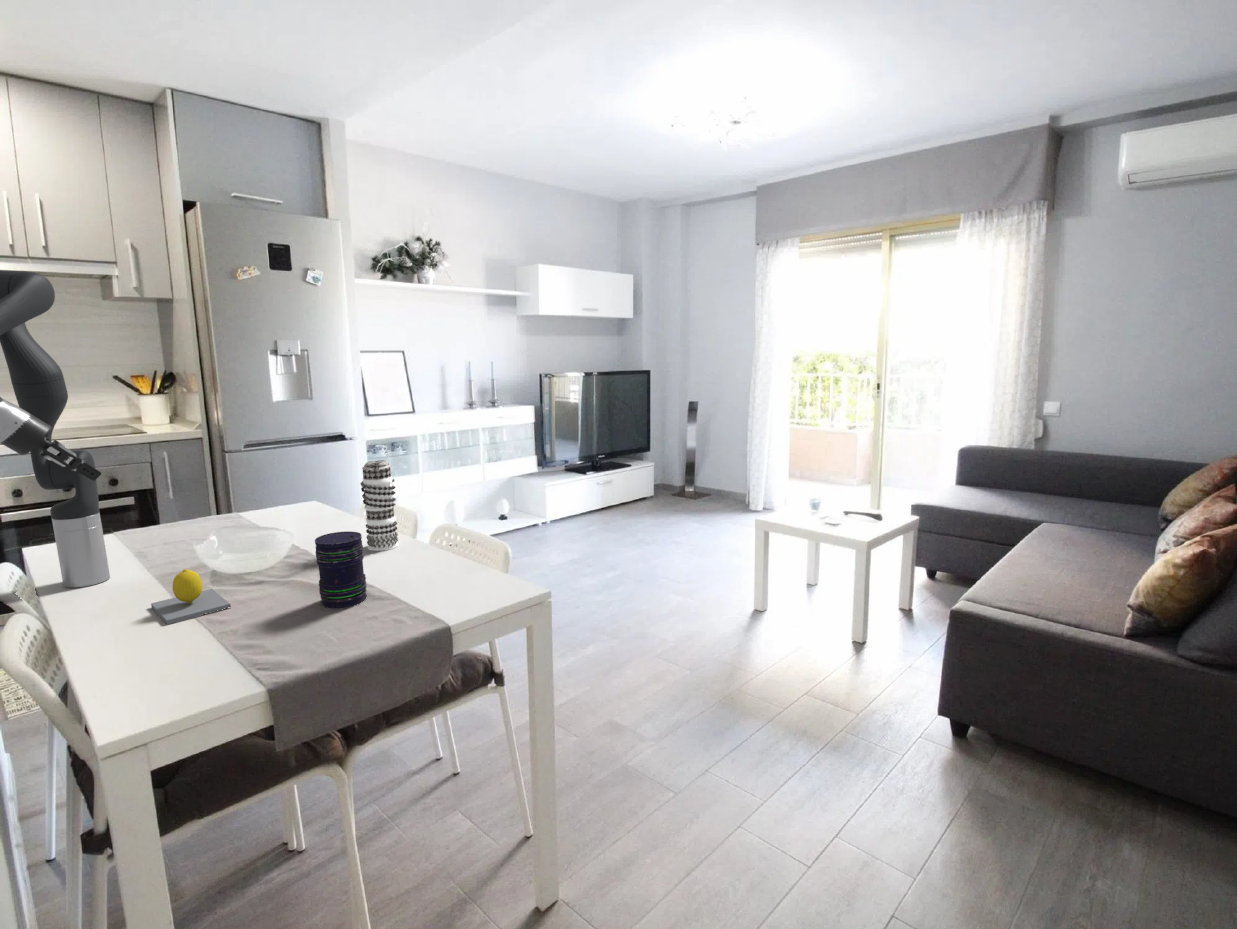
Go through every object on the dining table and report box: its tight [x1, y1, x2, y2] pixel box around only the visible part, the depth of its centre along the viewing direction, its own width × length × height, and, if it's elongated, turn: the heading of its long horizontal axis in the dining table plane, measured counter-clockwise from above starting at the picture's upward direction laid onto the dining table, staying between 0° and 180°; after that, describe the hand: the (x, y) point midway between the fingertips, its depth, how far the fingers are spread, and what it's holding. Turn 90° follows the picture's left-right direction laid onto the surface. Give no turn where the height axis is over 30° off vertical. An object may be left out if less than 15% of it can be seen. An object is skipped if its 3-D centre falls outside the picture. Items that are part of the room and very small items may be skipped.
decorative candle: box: [359, 459, 399, 552], centre depth 188 cm, size 9×9×25 cm
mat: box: [150, 588, 232, 626], centre depth 147 cm, size 14×12×1 cm
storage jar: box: [314, 530, 368, 610], centre depth 148 cm, size 10×10×15 cm
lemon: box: [172, 568, 203, 604], centre depth 146 cm, size 6×6×8 cm
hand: (94, 474), depth 141 cm, fingers open, 8 cm apart
